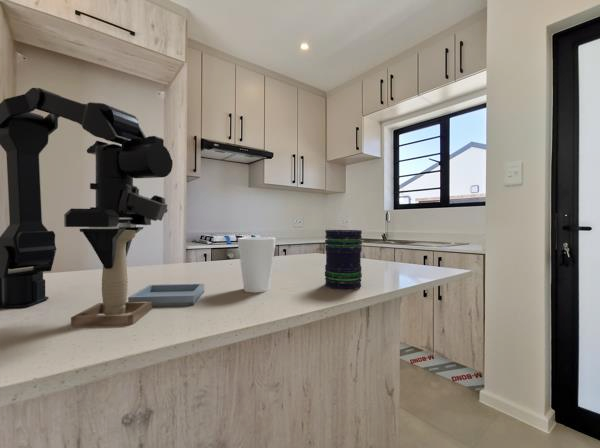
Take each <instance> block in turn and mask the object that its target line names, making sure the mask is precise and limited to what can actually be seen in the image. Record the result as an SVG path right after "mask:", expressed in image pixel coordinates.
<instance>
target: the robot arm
mask: <svg viewBox="0 0 600 448" xmlns="http://www.w3.org/2000/svg"><path fill="white" fill-rule="evenodd" d="M35 110H38V111H41V112H44V113H48V115H46V116H43V115H41V114H38V113H35V112H33V111H35ZM59 118H64V119H66V120H68V121H71V122H73V123H76V124H79V125H80V126H81V128H82V129H83V130H84V131H85V132H87V133H89V134H90V135H92V136H93V137H96V138H100V139H103V140H105V141H108V142H112V143H110V144H108V143H107V142H104V141H100V140H96V141H95V142H94V143H93V144H92V145H91V146H89V147H88V148H87V149H86V153H87V154H90V155H95V182H90V183H89V189H90V190H94V191H95V207H89V208H70V209H68V210H67V211H66V213H64V214H63V216H64V221H63V223H64V224H63V226H64V228H79V233H82V235H84V236H85V238H86V240H87V241H88V243H89V244H90V246H91V247H92V249H93V250H94V252H95V254H96V256H97V258H98V259H99V260H100V263H101V264H102V267H103V266H104V268H105V269H111V268H112V267H113V263H114V256H115V249H116V241H117V238H118V236H119V235H120V234H121V233H122V232H123V231H124V230H135V235H136V234H137V233H139V232H140V231H141V230H144V226H152V221H155V222H156V221H158V220H159V221H162V220H163V218H164V214H165V213H168V204H166V199H165V198H164V197H162V196H159V195H156V194H155V195H152V197H150V198H149V197H146V196H143V195H140V189H139V188H138V187H137V186H135V185H134V179H152V178H153V179H155V178H166V177H167V176H169V175H170V174H171V172H172V170H173V164H174V162H173V159H172V157H171V153H170V151H169V150H168V148H167V147H166V146H165V144H164V142H165V141H164V138H162V137H158V136H156V135H149V136H147V137H146V135H145V133H144V132H143V130H142V129H141V127H140V125H139V119H138V118H137V117H136V116H135V115H133V114H131V113H128V112H126V111H125V110H121V109H119V108H116V107H114V106H111V105H108V104H106V103H103V102H93V101H92V102H91V101H90V102H87V103H82V102H78V101H75V100H73V99H69V98H66V97H64V96H62V95H59V94H57V93H55V92H51V91H49V90H46V89H44V88H42V87H32V88H30V89H29V90H27V91H26V92H25V93H23V94H20V95H16V96H11V97H7V98H5V99H3V100H2V101H1V102H0V147H1V148H2V149H3V150H4V152H5V153H6V154H5V155H6V170H7V171H6V172H7V174H6V175H7V176H6V177H7V195H8V196H7V197H8V216H9V219H8V220H9V225H8V226H7V227H6V228H5V230H4V231H3V233H2V234H1V235H0V309H1V308H6V309H7V308H27V307H30V306H33V305H36V304H39V303H40V302H44V301H46V300H48V299H49V296H46V280H45V278H44V272H51V271H52V269H53V265H54V261H55V257H56V251H57V247H56V233H55V232H54V231H53V230H48V228H46V227H45V224H43V217H42V216H43V214H42V213H43V211H42V193H41V192H42V191H41V174H40V173H41V172H40V170H41V168H40V153H42V152H43V150H44V149H45V148H46V146H47V145H48V143H49V137H50V135H51V134H52V133H54V132H55V131H56V130H57V129H58V128H59V124H58V123H59ZM115 143H116V144H115ZM137 225H138V226H137ZM140 225H141V226H140ZM142 225H143V226H142ZM132 241H133V239H131V240H129V241H128V242H127V243H126V258H127V256H128V253H129V250H130V246H131V244H132Z"/></svg>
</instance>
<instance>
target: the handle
mask: <svg viewBox="0 0 600 448" xmlns="http://www.w3.org/2000/svg"><path fill="white" fill-rule="evenodd" d="M135 237H136V234H135V230H124V231H123V232H122V233H121V234H120V235H119V236H118V238H117V241H116V249H115V256H114V263H113V267H112V268H111V269H105V268H104V266H103V265H102V275H101V297H102V303H103V304H104V306H105V308H104V312H103V313H104V314H103V315H116V314H125V312H126V311H125V308H126V305H125V303H126V302H127V300H128V290H129V289H128V286H129V285H128V284H129V281H128V280H129V279H128V278H129V277H128V268H127V267H128V266H127V257H126V243H127V242H128V241H129V240H131V239H132V240H133V239H134V238H135Z"/></svg>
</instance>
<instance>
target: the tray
mask: <svg viewBox="0 0 600 448" xmlns="http://www.w3.org/2000/svg"><path fill="white" fill-rule="evenodd" d="M204 293H205V283H176V284H175V283H173V284H169V283H168V284H166V283H165V284H164V283H162V284H148V285H147V286H145V287H143V288H141V289H140V290H138V291H137V292H134V293H133V294H132V295H129V296H127V302H152V307H178V306H180V307H181V306H182V307H183V306H184V307H186V306H194V305H195V304H196V303H197V301H199V299H200V298H201V296H202V295H203V294H204Z"/></svg>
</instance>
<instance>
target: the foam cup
mask: <svg viewBox="0 0 600 448" xmlns="http://www.w3.org/2000/svg"><path fill="white" fill-rule="evenodd" d="M276 239H277V238H276V237H269V236H267V237H266V236H265V237H264V236H247V237H238V238H237V248H238V251H239V252H238V253H239V260H240V261H239V262H240V268H241V276H242V283H243V285H242V286H243V290H244V292H247V293H264V292H265V293H266V292H268V291H270V287H271V286H270V285H271V278H272V271H273V264H274V255H275V248H276Z"/></svg>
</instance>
